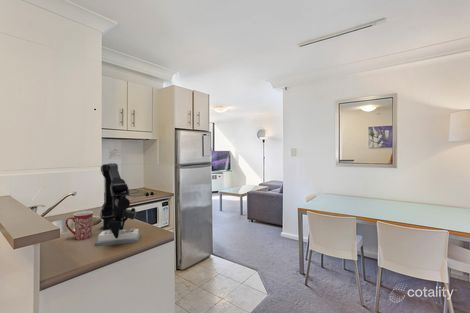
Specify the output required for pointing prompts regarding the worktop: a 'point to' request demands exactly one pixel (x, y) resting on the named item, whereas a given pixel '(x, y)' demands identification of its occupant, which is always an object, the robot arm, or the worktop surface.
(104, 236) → the power strip
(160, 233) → the worktop surface
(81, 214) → the mug
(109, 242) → the peg board
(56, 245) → the worktop surface
